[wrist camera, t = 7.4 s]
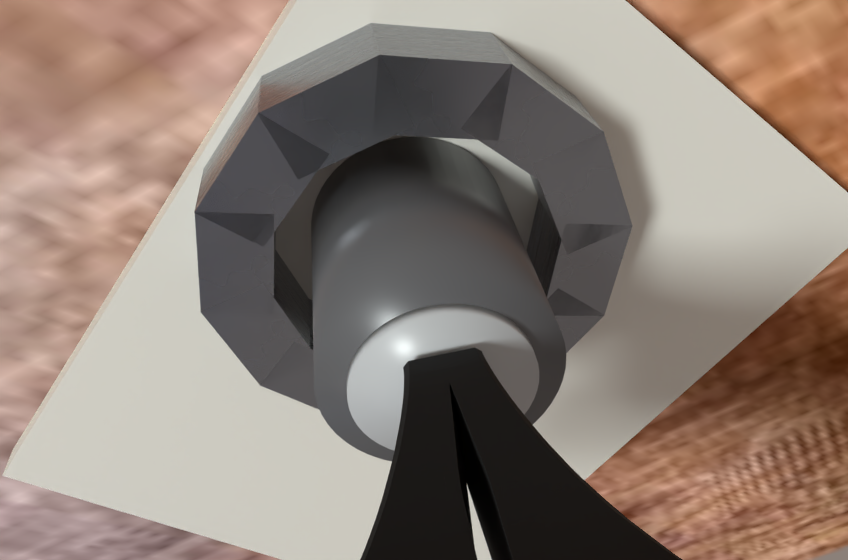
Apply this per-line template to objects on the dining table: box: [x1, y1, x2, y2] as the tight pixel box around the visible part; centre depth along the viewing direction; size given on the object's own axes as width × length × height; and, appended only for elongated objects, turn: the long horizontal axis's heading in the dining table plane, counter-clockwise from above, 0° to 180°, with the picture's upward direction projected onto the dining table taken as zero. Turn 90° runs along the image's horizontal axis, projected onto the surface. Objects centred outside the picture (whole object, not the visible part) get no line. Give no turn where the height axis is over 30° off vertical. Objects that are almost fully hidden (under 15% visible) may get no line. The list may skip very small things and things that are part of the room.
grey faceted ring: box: [194, 23, 633, 409], centre depth 18 cm, size 10×10×2 cm
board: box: [3, 0, 848, 560], centre depth 22 cm, size 20×16×1 cm
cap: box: [311, 137, 566, 461], centre depth 16 cm, size 5×5×6 cm
